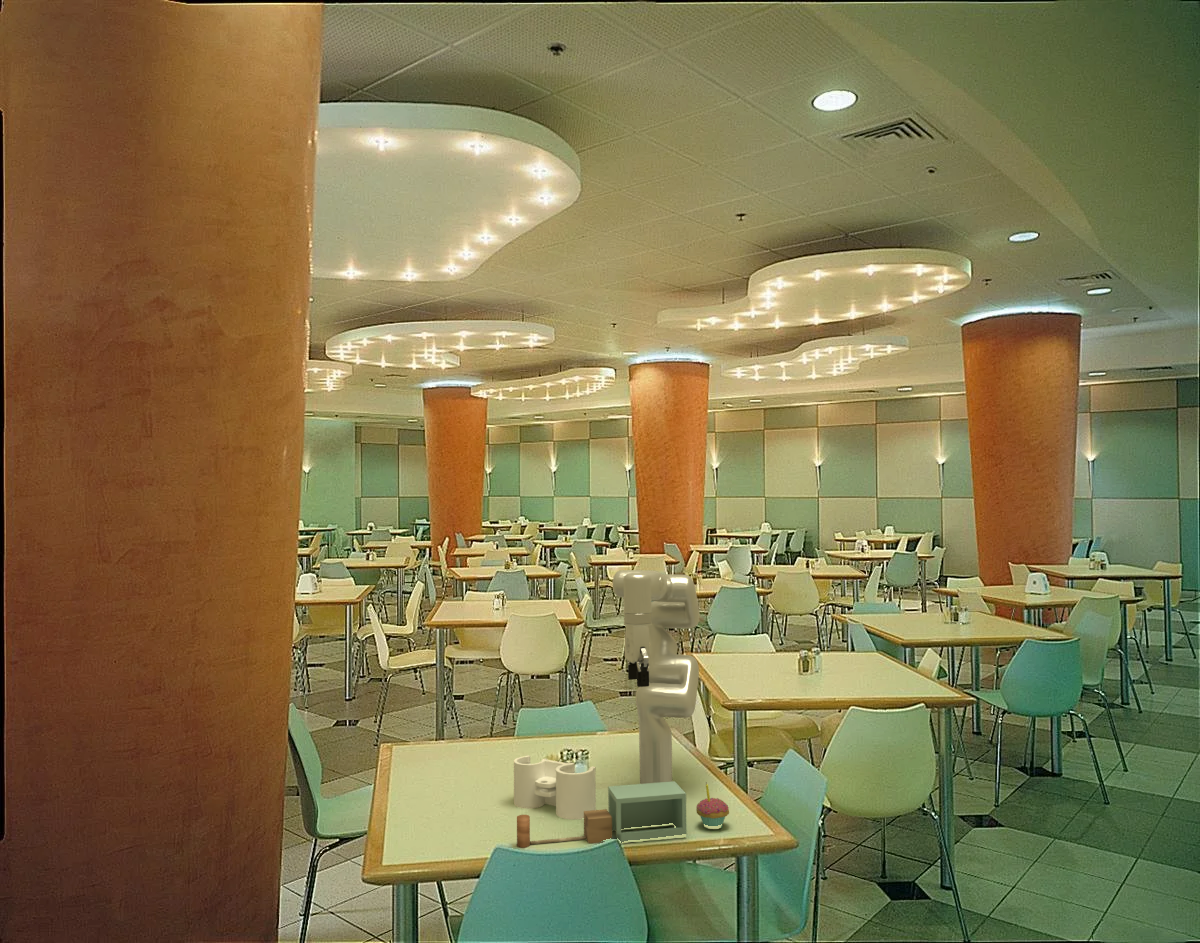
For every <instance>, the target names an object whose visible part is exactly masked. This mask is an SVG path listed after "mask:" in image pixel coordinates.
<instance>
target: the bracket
mask: <svg viewBox="0 0 1200 943" xmlns="http://www.w3.org/2000/svg"><path fill="white" fill-rule="evenodd" d="M575 769H576V768H575V763H574V762H568V763H567V762H561V761H556V760H552V759H548V758H542V759H541V761H539V762H536V763H531V755H530V754H529V755H527V754H526V755H525V756H519V757H516V758H515V759H513V804H514V806H515V807H517V808H520V809H527V810H528V809H537V808H541V807H543V806H544V805H549V806H554V807H555V814H556V816H557V817H559V818H561V819H564V820H582V818H584V811H592V810H597V806H596V803H597V798H596V797H597V794H596V793H597V792H596V789H597V786H596V785H597V784H596V779H597V778H596V772H597V771H596V766H593V765H592V766H590V767H589V768H588V770H586V771H582V772H578V773H577V772H576V773H575V771H576V770H575Z"/></svg>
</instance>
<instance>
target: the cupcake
mask: <svg viewBox="0 0 1200 943" xmlns="http://www.w3.org/2000/svg"><path fill="white" fill-rule="evenodd" d="M709 789H710V788H709V784H708V783H707V782H706V781H705V790H706V798H705V799H702V800H700V801H699V802H698V803H697V805H696V809H695V811H696V814H697V815H698V816H699V817H700V819H701V822H702V825H703V824H705V825H708V826H718V825H721V824H724V822H725V819H726V817H727V816H728V815H729V814H730V810H729V808H730V807H729V805H728V804H727V803H726V802H725V801H724V800H722V799H720V798H718V797H717V798H715V797H710V790H709Z"/></svg>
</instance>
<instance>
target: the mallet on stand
mask: <svg viewBox="0 0 1200 943" xmlns="http://www.w3.org/2000/svg"><path fill="white" fill-rule="evenodd" d="M530 817H531V816H530V815H529V814H519V815H517V816H516V846H517V847H518V848H520V849H521V848H524V849H525V848H528V847H530V846H532V845H543V844H549V843H550V844H552V843H553V844H554V843H562V842H563V843H564V842H572V841H573V842H574V841H581V840H583V841H584V840H586V841H587V843H588V844H600V843H602V842H601V841H603V840H606V839H610V838H612V839H613V831H612V817H611V815H610V814H609V812H608V809H606V808H605V809H596V810H592V811H584V819H583V836H582V835H580V836H571V837H570V836H569V837H561V838H560V837H559V838H552V839H549V838H548V839H540V840H531V822H530V821H531V818H530ZM599 842H600V843H599Z"/></svg>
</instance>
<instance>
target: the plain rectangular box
mask: <svg viewBox="0 0 1200 943" xmlns="http://www.w3.org/2000/svg"><path fill="white" fill-rule="evenodd" d="M607 791H608V792H607V793H608V795H607V796H608V799H607V800H608V801H607V802H608V803H607V805H608V809H607V811H608V812H609V814H610V815H611V817H612V830H616V831H615V839H616V838H618V839H619V840H620V841H621V843H622V842H624V841H628V840H640V839H650V838H658V837H666V836H674V835H682V834H687V832H688V831H687V793H686V792H685V790H684V789H682V788H681V786H680V785H679V784H678V783H677V782H676V781H675V780H674V781H673V780H672V782H659V783H646V784H640V783H636V784H635V783H634V784H624V785H623V784H621V785H610V786H607ZM669 823H673V824H674V825H675V826H676V828H674V827H668V828H656V829H655V828H654V829H644V830H633V831H631V830H630V831H622V830H621V829H624V828H631V827H642V826H651V825H662V824H669ZM687 835H688V834H687Z"/></svg>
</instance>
